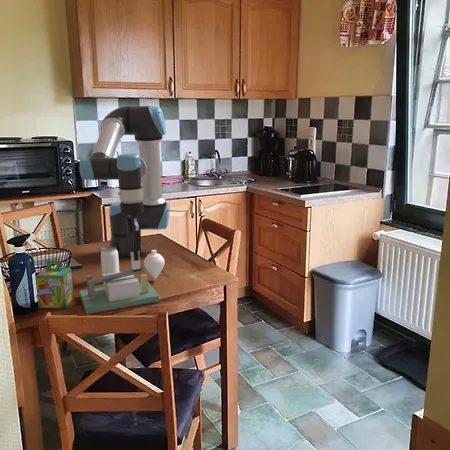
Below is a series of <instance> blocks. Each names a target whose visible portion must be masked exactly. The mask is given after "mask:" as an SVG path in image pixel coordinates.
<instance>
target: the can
mask: <svg viewBox="0 0 450 450" xmlns="http://www.w3.org/2000/svg"><path fill="white" fill-rule="evenodd" d="M116 249H117V248H116V247H109V246H106V247H102V248H101V251H100V262H101V263H100V266H101V275H102V276H101V277H103V274H110V273H117V272H120V261H119V257H118V251H117V250H116Z"/></svg>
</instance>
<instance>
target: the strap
mask: <svg viewBox="0 0 450 450" xmlns="http://www.w3.org/2000/svg"><path fill="white" fill-rule="evenodd" d="M140 267H141V269H135V270H133V269H132V268H131V269H130V270H126V271H125V270H124V271H119V272H120V273H116V274H112V275H107V276H103V277H102V276H99V277H96V278H92V279H89V280H94V285H97V284H100V283H103V282H105V281H110V280H114V279H118V278H122V277H126V276H130V275H134V276H135V275H137V274H138V275H139V274H141V273H145V270H144V268H143V267H142V265H140Z"/></svg>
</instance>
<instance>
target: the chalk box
mask: <svg viewBox="0 0 450 450" xmlns="http://www.w3.org/2000/svg"><path fill="white" fill-rule="evenodd" d="M52 265H56V266H52ZM35 284H36V295H37V296H36V297H37V306H38V307H37V308H38V309H66V308H67V307H68V305H69V304H70V303H71V301H72V300H73V299H74V287H73V277H72V268H71V267H69V266H62V262H61V260H47V261H46V267H43V269H42V270H40V271H39V272H38V273H37V275H35Z"/></svg>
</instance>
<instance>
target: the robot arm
mask: <svg viewBox="0 0 450 450" xmlns="http://www.w3.org/2000/svg"><path fill="white" fill-rule="evenodd" d="M163 112H164V111H163V110H162V108H161V107H160V106H156V105H155V106H154V105H133V106H132V105H131V106H129V105H128V106H127V105H126V106H125V105H124V106H120V107H118V108H116V109H113V110H112V111H110V112H109V113H107V115H106V116H104V118H103V120H102V121H101V123H100V127H99V128H100V133H99V136H98V138H97V141H96V143H95V145H94V149H93V150H92V153H91V155H90V157H85V158H82V159H80V161H79V166H78V167H79V174H80V177H81V179H83V180H86V181H87V180H88V181H105V180H112V181H113V180H116V181H117V180H118V181H117V182H118V190H119V191H118V192H117V196H119V201H118V202H115V203H112V204H111V205H109V224H110V240H109V244H108V247H116V248H117V249H116V250H117V251H118V258H123V257H124V258H126V257H130V261H131V262H130V263H131V270H132V269H133V270H135V269H141V267H142V266H141V256H140V254H141V253H142V252H143V245H142V240H141V239H142V235H141V234H142V230H143V231H144V230H147V231H148V230H149V231H151V230H154V231H156V230H157V231H158V230H165V229H167V228H168V226H169V220H170V211H171V204H170V203H169V202H167V199H166V197H164V196H163V185H162V184H163V180H162V167H161V166H162V165H161V150H160V143H161V141H162V140H163V136H164V135H166V134H167V129H166V121H165V117H164V113H163ZM123 136H134V140H135V142H137V143H138V149H139V150H138V151H139V152H138V153H139V154H137V153H124V154H118V155H117V156H116V157H115V153H116V150H117V148H118V145H119V142H120V139H121V138H123ZM140 266H141V267H140Z"/></svg>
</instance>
